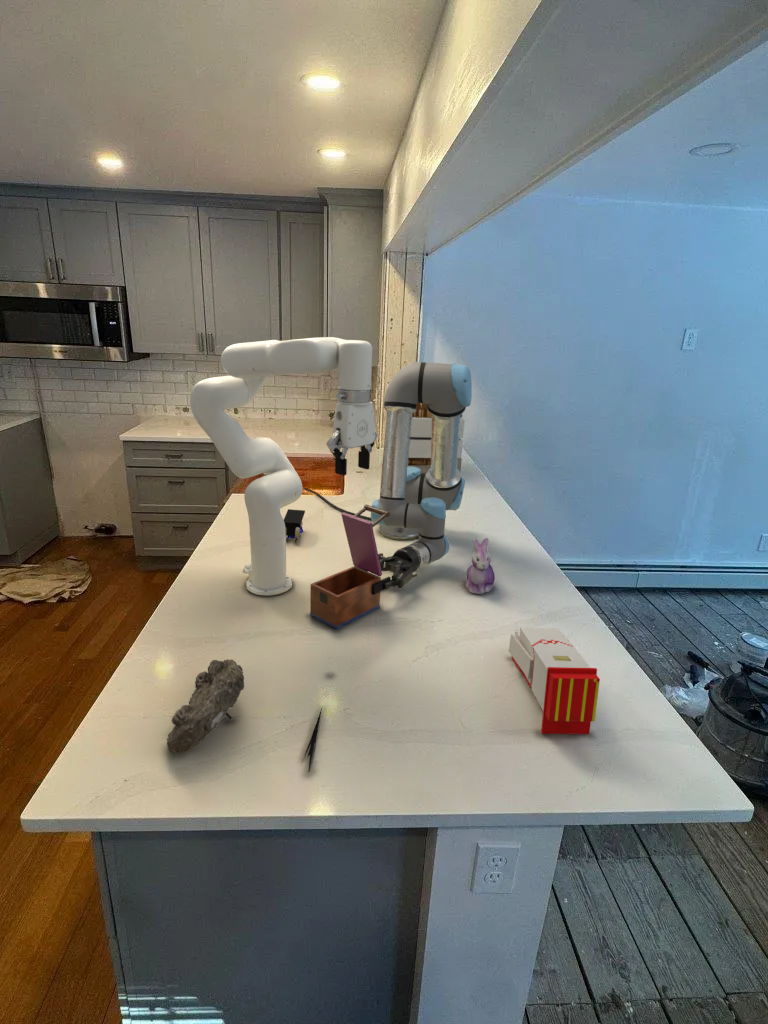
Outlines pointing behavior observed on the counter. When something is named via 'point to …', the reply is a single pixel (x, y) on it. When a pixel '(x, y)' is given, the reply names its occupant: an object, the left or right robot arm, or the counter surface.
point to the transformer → (426, 438)
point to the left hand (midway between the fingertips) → (352, 470)
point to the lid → (363, 539)
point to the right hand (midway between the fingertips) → (358, 583)
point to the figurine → (480, 569)
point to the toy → (557, 679)
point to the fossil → (206, 705)
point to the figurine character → (293, 523)
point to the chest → (344, 597)
